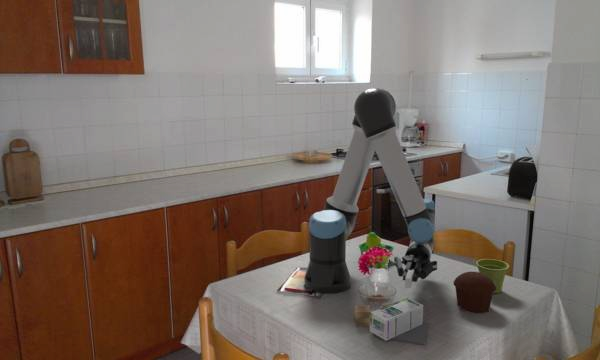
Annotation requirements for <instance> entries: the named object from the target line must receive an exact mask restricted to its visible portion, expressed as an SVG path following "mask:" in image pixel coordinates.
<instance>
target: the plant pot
mask: <svg viewBox="0 0 600 360" xmlns="http://www.w3.org/2000/svg"><path fill="white" fill-rule="evenodd" d="M476 266H477V269H478V272H479V273H482V274H484V275H486V276H488V277H489V278H490V279H492V281H493V282H494V284H495V286H496V290H495V291H494V292H493V294H495V293H496V294H500V293H501V292H502V290H503V286H504V280H505V276H506V273H507V271H508V270H509V268H510V265H509V264H508V263H507V262H505V261H503V260H498V259H493V258H482V259H478V260H477V261H476Z"/></svg>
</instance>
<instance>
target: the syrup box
mask: <svg viewBox="0 0 600 360" xmlns="http://www.w3.org/2000/svg"><path fill="white" fill-rule="evenodd" d="M423 317H424V305H423V304H421V303H419V302H416V301H415V300H413V299H410V298H408V297H406V298H403V299H401V300H398V301H396V302H393V303H391V304H388V305H385V306H383V307H380V308H378V309H376V310H373V311H372V310H371V313H370V326H369V332H370V333H371V334H374V335H375V336H376V337H377V336H378V337H380V338H379V339H382V340H383V341H389V340H390V339H391V338H393V337H396V336H398V335H400V334H402V333H404V332H407V331H409V330H411V329H413V328H416V327H418V326H420V325H422V321H424V320H423V319H424V318H423ZM378 337H377V338H378Z"/></svg>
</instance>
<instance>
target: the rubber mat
mask: <svg viewBox="0 0 600 360" xmlns="http://www.w3.org/2000/svg"><path fill="white" fill-rule="evenodd" d="M429 327H430V321H425V320H423V321H422V325H420V326H418V327H416V328H413V329H411V330H409V331H407V332H404V333H402V334H400V335H398V336H396V337H393V338H391V339H389V340H390V341H397V342H403V343H410V344H415V345H420V346H425V345H426V340H427V336H428V332H429ZM376 338H379V339H381V338H380V337H378V336H377V335H376Z"/></svg>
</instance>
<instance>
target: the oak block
mask: <svg viewBox="0 0 600 360" xmlns="http://www.w3.org/2000/svg"><path fill="white" fill-rule="evenodd" d="M353 310H354V311H353V320H354V323H355V324H354V325H355V326H356V327H363V326H364V327H368V326H369V327H370V313H371V312H372V309H371V308H370V305H354V307H353Z"/></svg>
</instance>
